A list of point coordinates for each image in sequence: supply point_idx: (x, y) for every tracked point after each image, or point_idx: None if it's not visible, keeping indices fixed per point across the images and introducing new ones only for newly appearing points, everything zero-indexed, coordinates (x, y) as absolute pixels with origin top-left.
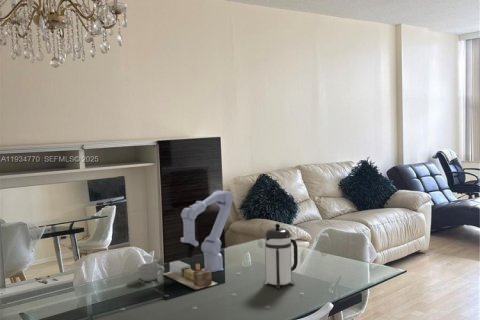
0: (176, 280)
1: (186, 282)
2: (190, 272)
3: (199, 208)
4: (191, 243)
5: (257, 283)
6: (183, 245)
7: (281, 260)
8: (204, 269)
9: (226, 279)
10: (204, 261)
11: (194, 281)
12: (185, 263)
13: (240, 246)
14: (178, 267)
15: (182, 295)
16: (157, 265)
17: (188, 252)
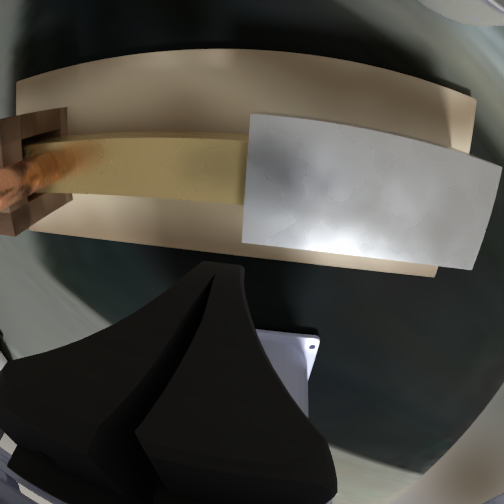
0: (240, 49)
1: (137, 85)
2: (110, 139)
3: None
4: (19, 482)
5: (11, 330)
6: (256, 441)
7: None
8: (10, 223)
9: (81, 307)
10: (292, 390)
11: (45, 110)
12: (344, 250)
13: (388, 495)
14: (315, 119)
15: (21, 3)
16: (490, 4)
17: (143, 309)
